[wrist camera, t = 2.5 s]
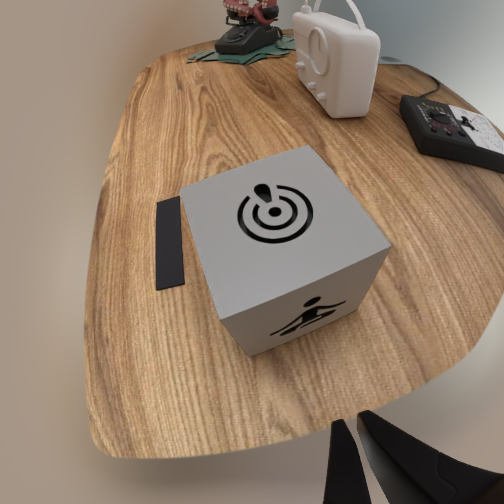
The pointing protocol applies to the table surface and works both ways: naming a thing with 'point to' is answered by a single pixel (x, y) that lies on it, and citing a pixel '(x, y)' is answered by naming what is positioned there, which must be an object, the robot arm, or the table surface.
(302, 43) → the radio
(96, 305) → the table surface
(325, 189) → the icon cube
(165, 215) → the felt mark
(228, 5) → the telephone
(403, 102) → the multimeter
